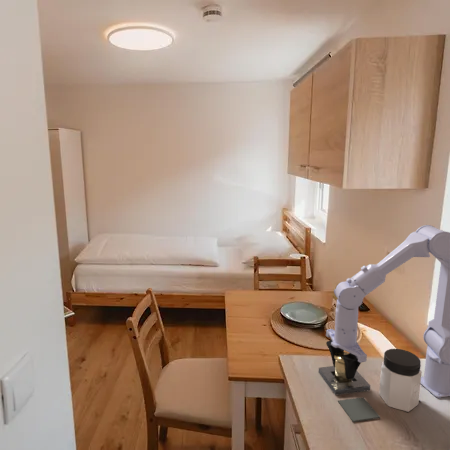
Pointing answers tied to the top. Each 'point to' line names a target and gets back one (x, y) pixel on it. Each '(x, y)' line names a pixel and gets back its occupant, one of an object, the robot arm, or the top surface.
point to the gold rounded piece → (340, 368)
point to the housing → (343, 388)
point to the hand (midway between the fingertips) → (343, 371)
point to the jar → (400, 379)
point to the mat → (358, 409)
